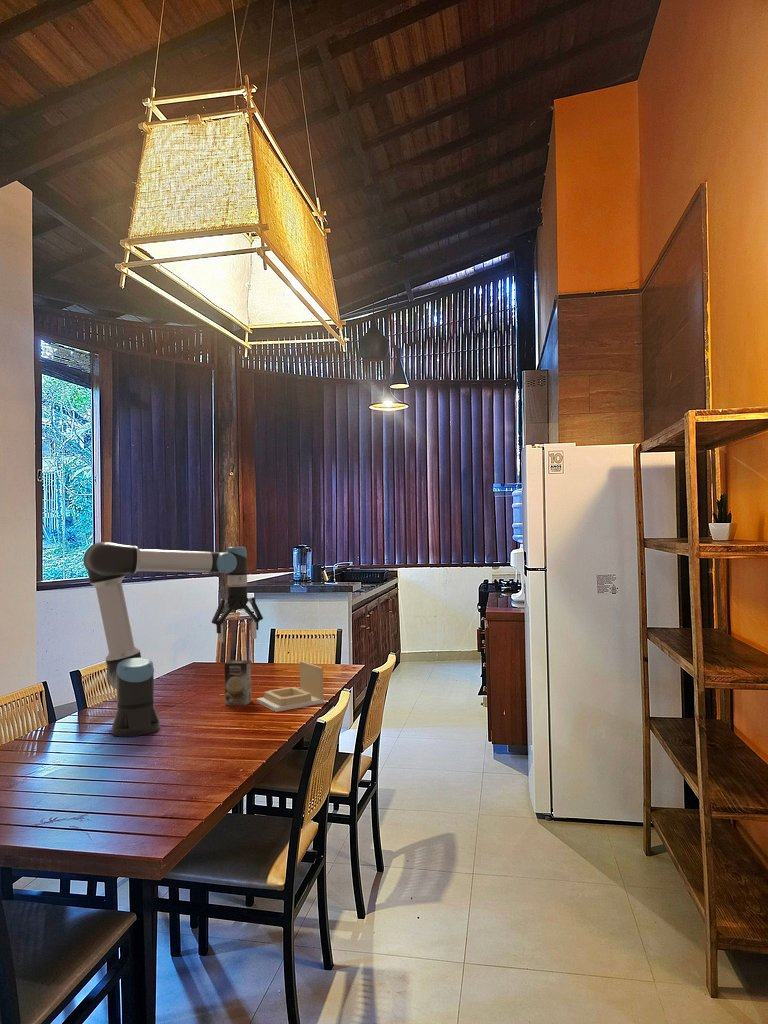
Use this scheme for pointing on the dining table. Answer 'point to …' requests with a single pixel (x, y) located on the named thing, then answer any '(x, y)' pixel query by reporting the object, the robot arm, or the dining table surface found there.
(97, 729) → the dining table surface
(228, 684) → the coffee box
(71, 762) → the dining table surface
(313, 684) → the display stand
